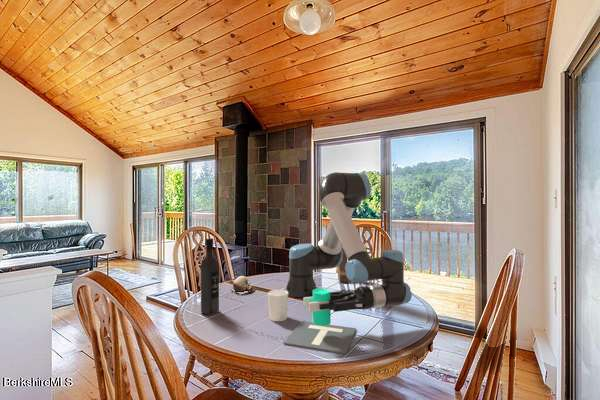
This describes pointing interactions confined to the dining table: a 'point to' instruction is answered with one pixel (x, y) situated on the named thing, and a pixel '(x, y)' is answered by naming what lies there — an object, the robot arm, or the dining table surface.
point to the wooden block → (342, 269)
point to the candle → (324, 315)
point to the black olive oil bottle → (209, 281)
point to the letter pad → (321, 337)
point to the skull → (242, 285)
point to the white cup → (278, 305)
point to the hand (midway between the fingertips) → (306, 304)
